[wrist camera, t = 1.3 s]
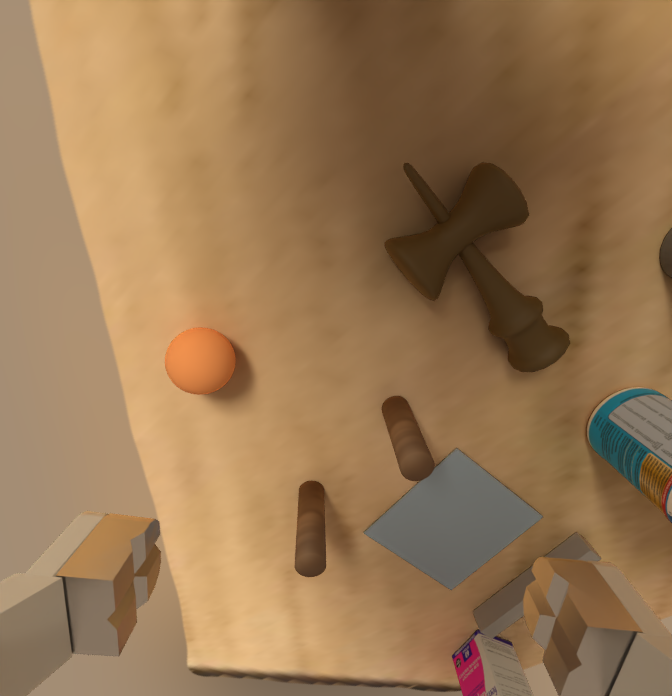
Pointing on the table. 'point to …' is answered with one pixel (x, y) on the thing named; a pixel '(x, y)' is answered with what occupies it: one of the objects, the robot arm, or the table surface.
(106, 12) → the table surface
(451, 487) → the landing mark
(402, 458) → the post
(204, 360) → the ball
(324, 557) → the post
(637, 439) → the beverage bottle
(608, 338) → the table surface
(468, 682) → the supplement box
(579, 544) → the wall
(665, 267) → the bottle
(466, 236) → the kendama
